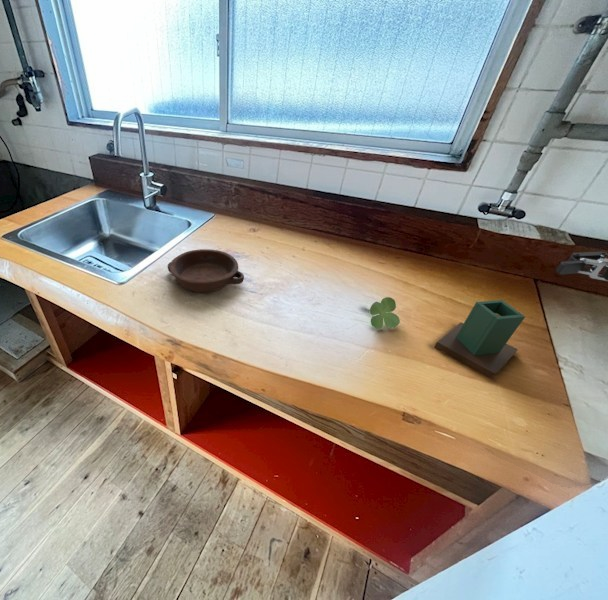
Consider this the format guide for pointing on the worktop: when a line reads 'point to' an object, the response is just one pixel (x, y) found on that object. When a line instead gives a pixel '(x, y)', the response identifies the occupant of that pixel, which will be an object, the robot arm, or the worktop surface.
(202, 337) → the worktop surface
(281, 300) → the worktop surface
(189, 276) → the dish
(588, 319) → the worktop surface
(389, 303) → the green leafy piece
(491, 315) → the sleeve
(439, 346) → the brown peg stand
